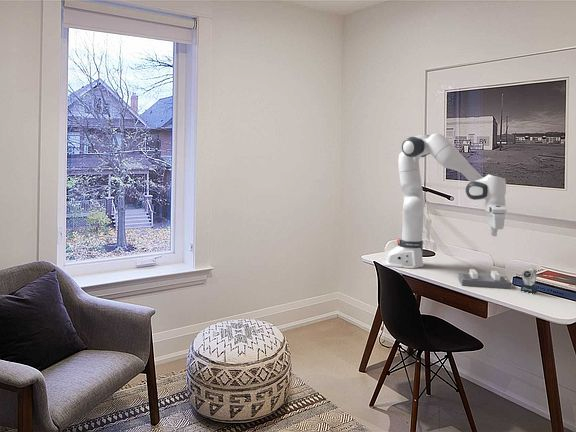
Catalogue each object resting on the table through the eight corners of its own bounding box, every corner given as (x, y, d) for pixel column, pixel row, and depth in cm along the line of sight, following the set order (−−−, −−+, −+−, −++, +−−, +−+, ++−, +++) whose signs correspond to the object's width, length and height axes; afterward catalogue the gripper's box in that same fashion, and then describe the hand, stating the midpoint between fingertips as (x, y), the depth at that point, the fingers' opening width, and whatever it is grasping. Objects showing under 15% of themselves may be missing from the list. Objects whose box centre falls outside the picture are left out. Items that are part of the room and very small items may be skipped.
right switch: (494, 280, 233) (495, 274, 232) (490, 275, 241) (491, 270, 241) (500, 280, 232) (500, 275, 232) (495, 276, 241) (496, 270, 240)
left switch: (472, 278, 234) (472, 273, 234) (469, 274, 243) (469, 268, 243) (477, 279, 234) (478, 273, 234) (474, 274, 243) (474, 269, 242)
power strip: (462, 285, 234) (462, 279, 234) (458, 279, 246) (458, 273, 245) (511, 288, 230) (511, 282, 230) (504, 282, 242) (505, 276, 241)
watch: (518, 291, 226) (520, 268, 224) (527, 289, 231) (529, 266, 229) (530, 294, 221) (532, 271, 220) (539, 292, 226) (541, 268, 225)
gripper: (483, 205, 247) (482, 232, 248) (492, 209, 227) (491, 239, 228) (497, 205, 245) (495, 232, 247) (507, 210, 225) (506, 239, 227)
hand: (494, 235), depth 238 cm, fingers closed
